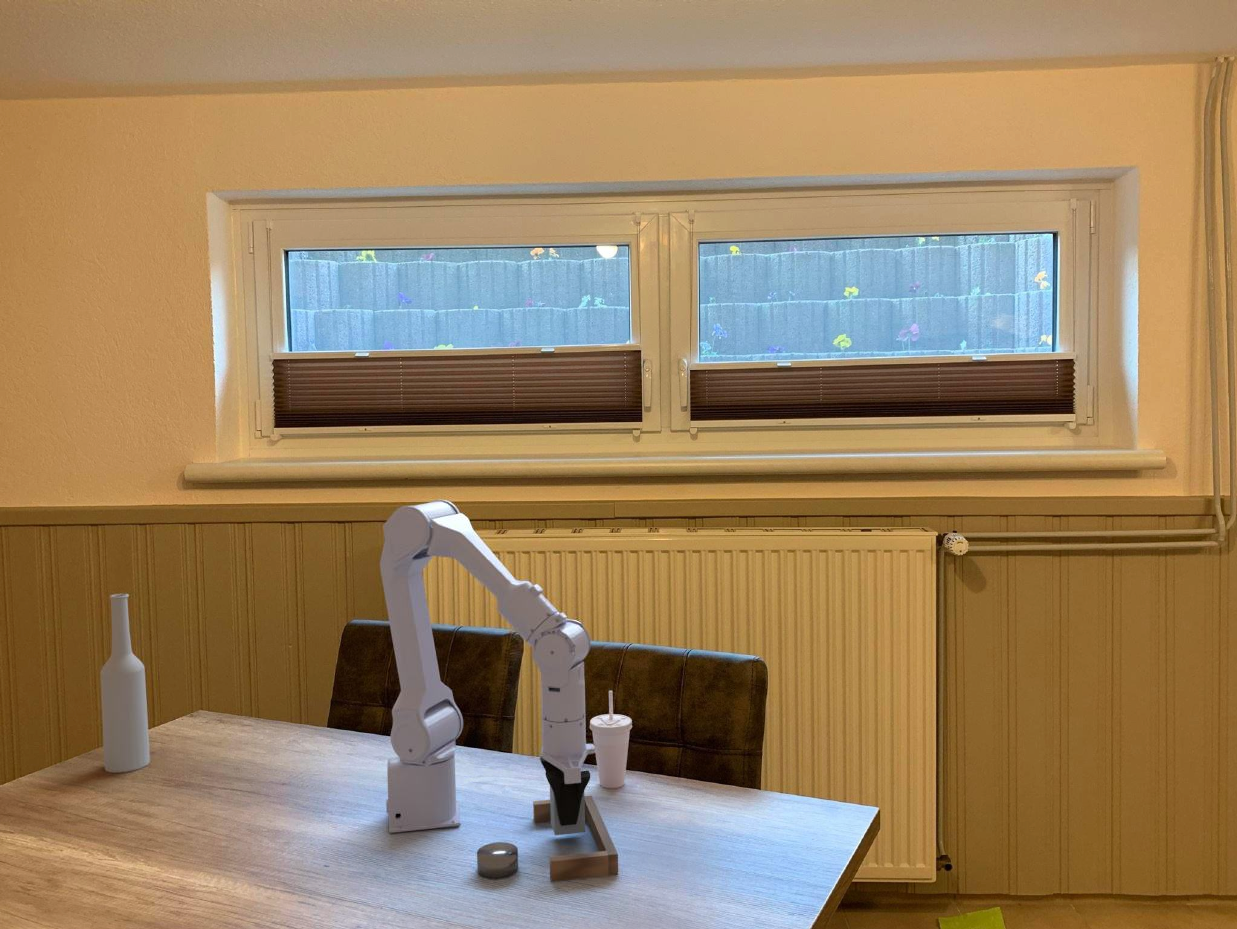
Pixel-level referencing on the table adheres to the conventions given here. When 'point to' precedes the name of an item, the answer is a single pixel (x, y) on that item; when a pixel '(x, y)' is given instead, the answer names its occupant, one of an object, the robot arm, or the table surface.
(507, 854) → the grey puck
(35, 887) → the table surface
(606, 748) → the smoothie
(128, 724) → the bottle
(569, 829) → the grey block
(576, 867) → the walnut bay
